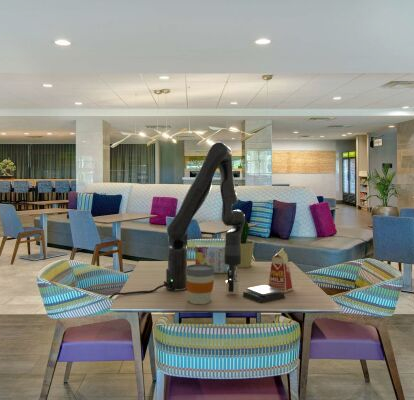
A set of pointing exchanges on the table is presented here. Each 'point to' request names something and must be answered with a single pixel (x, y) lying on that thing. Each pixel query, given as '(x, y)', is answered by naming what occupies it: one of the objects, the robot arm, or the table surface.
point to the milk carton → (280, 272)
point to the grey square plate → (264, 290)
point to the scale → (263, 298)
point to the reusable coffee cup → (199, 283)
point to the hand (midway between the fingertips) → (232, 289)
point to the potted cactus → (246, 247)
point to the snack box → (212, 257)
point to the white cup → (236, 287)
